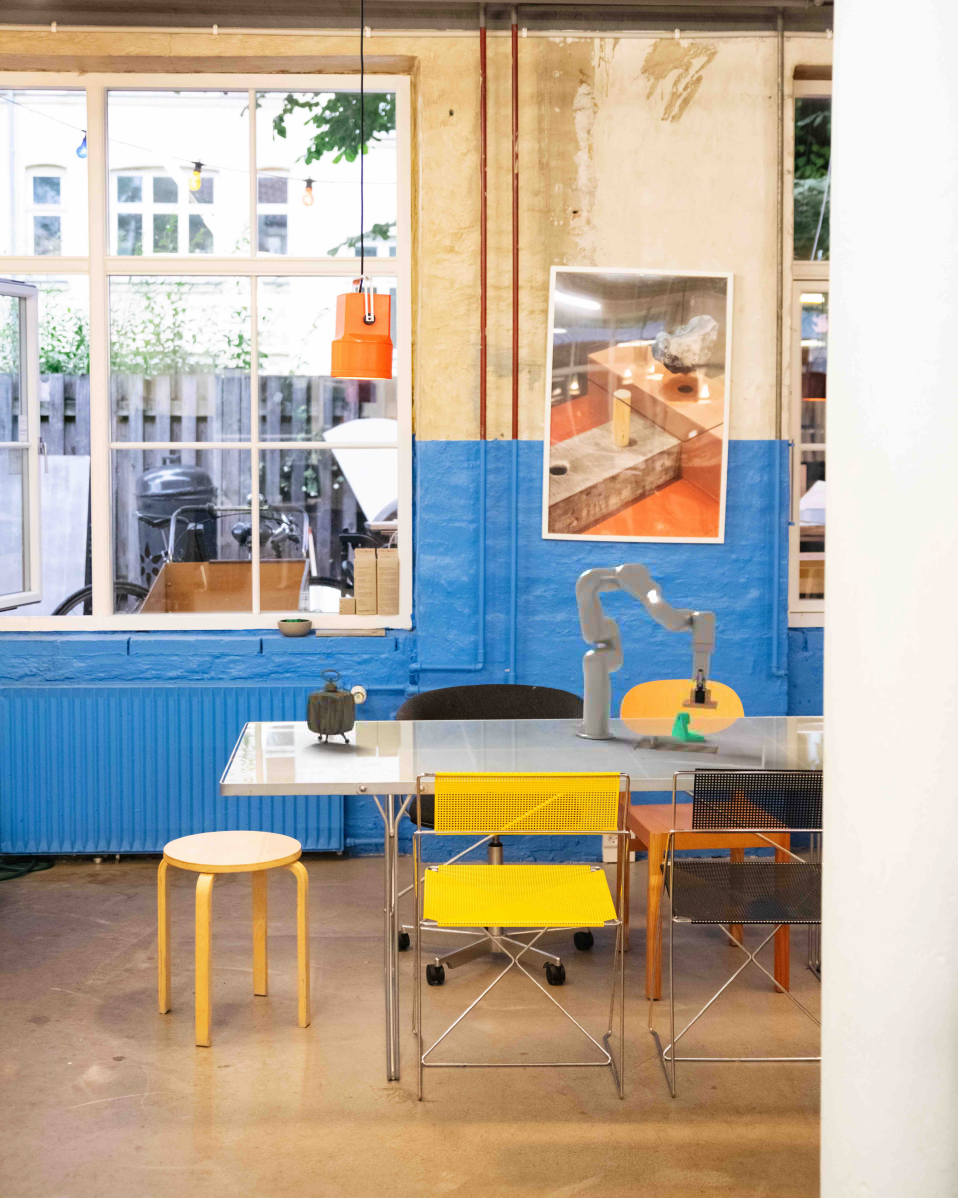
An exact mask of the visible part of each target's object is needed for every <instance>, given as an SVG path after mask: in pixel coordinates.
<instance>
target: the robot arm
mask: <svg viewBox="0 0 958 1198" xmlns="http://www.w3.org/2000/svg"><path fill="white" fill-rule="evenodd" d="M650 576H651V575H650V571H649V569H648V568H647V567H646V566H645V565H644V564H642V563H638V562H636V563H635V562H633V563H632V562H631V563H624V564H622V565H620V566H614V567H595V568H591V569H588V570H586V571H584V572H582V574H580V576H579V577H578V578H577V581H576V583H575V597H576V602H577V606H578V607H577V608H578V615H579V622H580V628H581V629H580V630H581V635H582V638H583V640H584V641H585V643H586V644H587V645H588V644H589V645H597V647H595V648H592V649H590V650H588V651H587V652H585V654H584V656H583V658H582V672H583V685H584V686H583V710H582V711H583V718H582V722H580V723H570V729H571V730H578V737H581V738H584V739H588V740H589V739H590V740H608V739H613V738H614V737H615V735H614V732H612V731H610V730H611V729H610V727H611V726H610V725H611V723H610V722H611V700H612V699H611V694H612V686H611V685H612V683H611V680H610V675H609V674H612V673H616V672H617V671H619V670H620V669H621V668H622V666H623V665H624V652H623V651H624V650H623V646H622V645H623V644H622V640H621V639H622V638H621V632H620V631H621V630H620V627H619V626H618V624H617V621H615V619H613V618H612V617H609V616H605V615H604V609H603V604H602V601H601V599H600V597H599V593H600V592H601V593H604V592H605V593H606V592H616V591H622V590H625V591H626V592H627V593H628V594H630V595H631V596H633V598H635V599H636V600H638V602H640V603H641V604H642V605H644V608H645V609H646V610H647V613H648V614H649V616H650V617H651V618H652V619H653V620H654V621H655V622H656V623H658V624H659V625H661V626H662V627H663V628H665V629H666V630H667V631H668V632H671V633H680V632H688V631H690V632H691V642H690V643H691V646H690V648H691V649H690V651H691V653H693V660H692V661H693V664H692V676H691V677H692V679H691V681H692V682H693V683H695V682H696V684H695V689H696V690H695V702H696V703H704V702H705V691H704V689H707V687H706V686H707V685H706V683H708V680H709V675H710V674H709V673H710V666H711V665H710V664H711V663H710V662H711V654H714V653H715V641H716V639H715V637H716V635H715V634H716V614H715V613H714V612H713V611H710V610H709V611H708V610H695V609H691V608H678V609H676V608H675V607H673V606H672V605H671V604H669V603H668V602H667V601H666V599H664V598H663V597H662V595H661V593H662V587H661V585H660V584H659V583H657V582H656V581H655V580H653V579H652V578H650Z"/></svg>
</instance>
